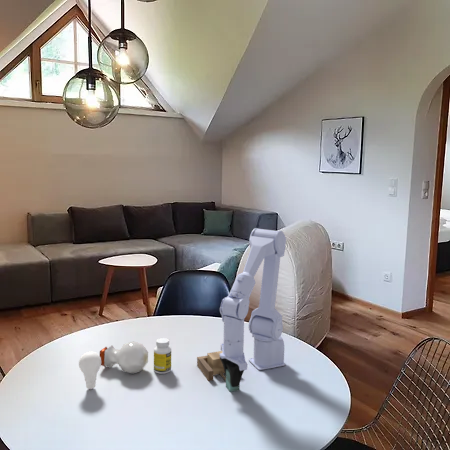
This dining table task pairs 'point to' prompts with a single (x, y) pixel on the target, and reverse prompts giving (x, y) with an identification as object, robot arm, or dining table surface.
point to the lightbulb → (90, 367)
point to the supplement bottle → (162, 356)
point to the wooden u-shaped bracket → (205, 367)
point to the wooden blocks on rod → (220, 369)
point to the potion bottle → (125, 357)
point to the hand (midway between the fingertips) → (232, 383)
